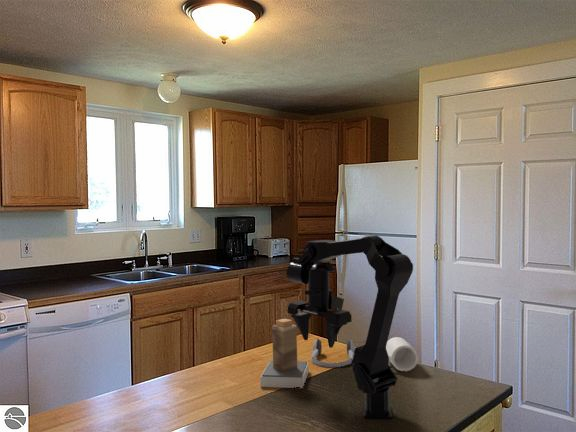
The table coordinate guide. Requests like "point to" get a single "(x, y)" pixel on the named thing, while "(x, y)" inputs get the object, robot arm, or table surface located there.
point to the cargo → (284, 322)
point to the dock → (284, 376)
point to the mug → (401, 354)
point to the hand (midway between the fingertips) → (318, 343)
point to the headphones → (317, 351)
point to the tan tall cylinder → (284, 347)
